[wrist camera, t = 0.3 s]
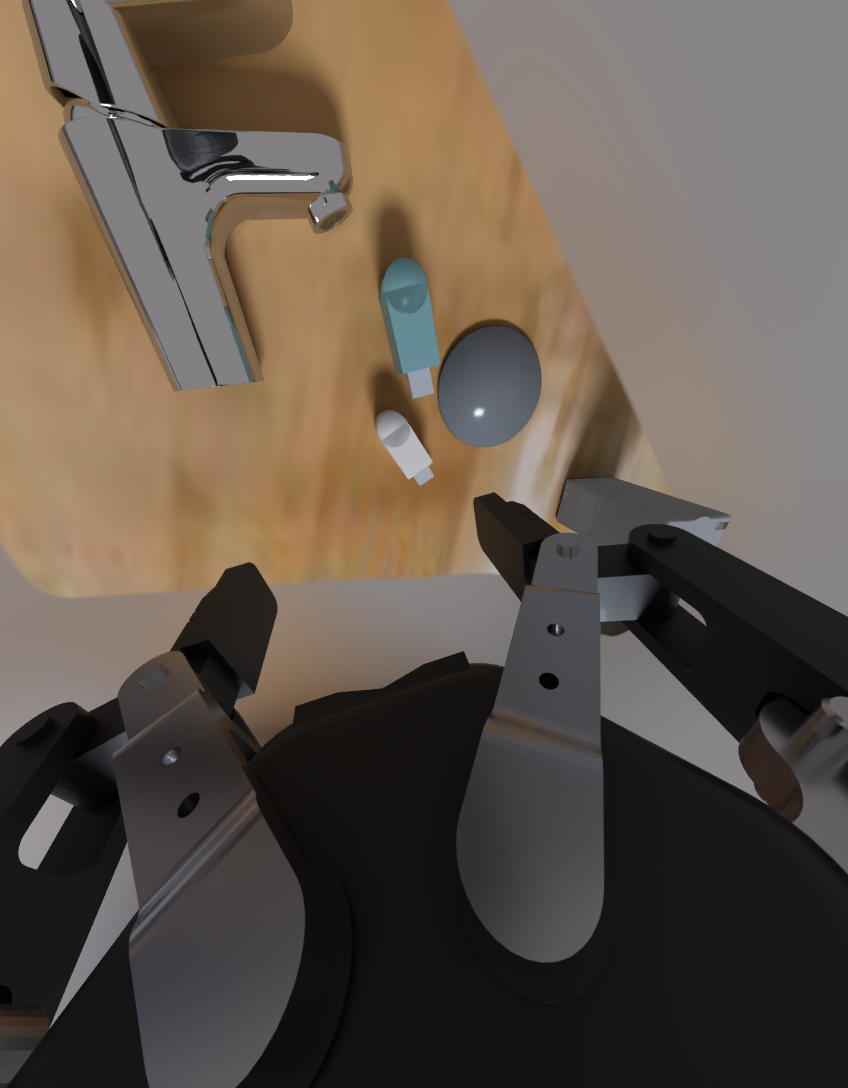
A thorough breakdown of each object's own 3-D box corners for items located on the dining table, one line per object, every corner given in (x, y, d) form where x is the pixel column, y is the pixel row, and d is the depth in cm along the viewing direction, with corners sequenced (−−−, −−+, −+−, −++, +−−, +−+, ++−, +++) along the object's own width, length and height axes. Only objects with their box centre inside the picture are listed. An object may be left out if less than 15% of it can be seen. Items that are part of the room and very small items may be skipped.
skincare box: (553, 520, 46) (640, 583, 32) (566, 472, 42) (670, 520, 29) (603, 517, 47) (705, 576, 34) (619, 471, 44) (740, 516, 30)
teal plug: (374, 277, 28) (378, 263, 24) (412, 268, 28) (422, 252, 24) (402, 398, 33) (409, 402, 30) (434, 389, 34) (445, 392, 30)
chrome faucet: (158, 393, 23) (-94, -128, 13) (191, 389, 29) (35, 28, 19) (387, 366, 27) (327, -64, 17) (375, 367, 33) (325, 51, 22)
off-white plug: (369, 420, 34) (371, 426, 30) (392, 402, 33) (398, 406, 30) (412, 482, 38) (418, 493, 35) (433, 467, 38) (442, 477, 34)
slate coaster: (427, 342, 31) (428, 341, 31) (537, 314, 32) (540, 313, 32) (447, 457, 38) (449, 458, 37) (539, 431, 38) (542, 432, 38)
